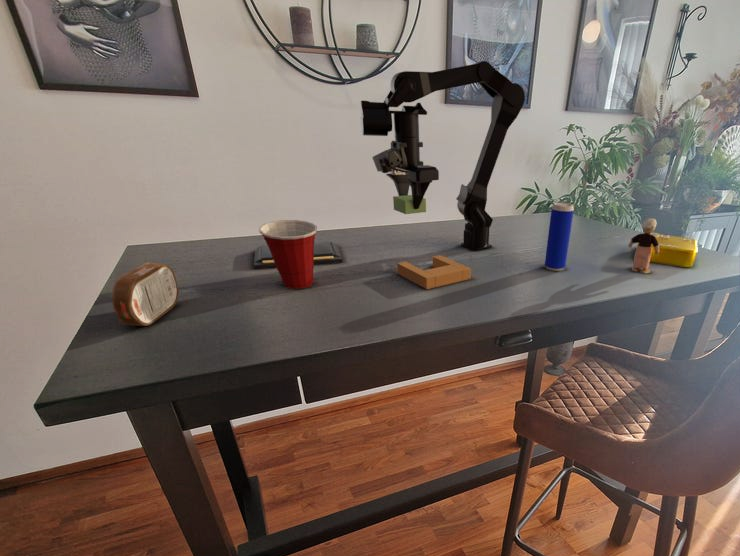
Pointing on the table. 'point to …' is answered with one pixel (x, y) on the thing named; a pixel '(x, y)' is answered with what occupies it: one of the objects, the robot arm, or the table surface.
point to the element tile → (674, 250)
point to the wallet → (322, 255)
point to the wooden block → (435, 272)
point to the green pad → (408, 204)
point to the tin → (145, 294)
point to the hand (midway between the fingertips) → (409, 206)
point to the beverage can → (559, 236)
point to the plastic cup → (292, 250)
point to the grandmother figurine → (644, 246)
